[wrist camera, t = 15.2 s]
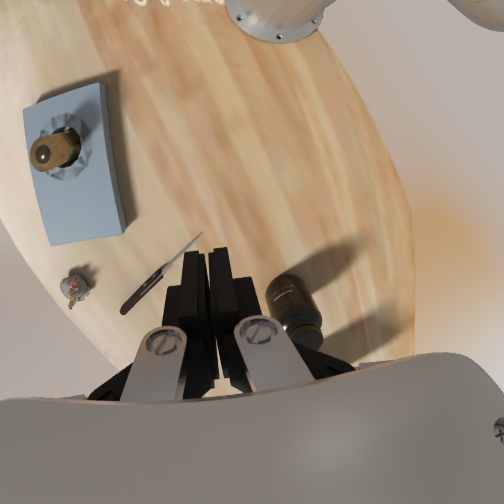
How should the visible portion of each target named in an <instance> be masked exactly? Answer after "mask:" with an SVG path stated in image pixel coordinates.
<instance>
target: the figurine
mask: <svg viewBox="0 0 504 504" xmlns="http://www.w3.org/2000/svg"><path fill="white" fill-rule="evenodd" d="M60 289H61V292H62V293H63V295H64V296H65V297H66V298H68V299H70V302H69V305H70V306H69V305H68V307H69V309H72V307H73V306H74V305H75V303H76V302H79V301H82V300H84V299H85V298H86V297H88V294H90V293H88V292H89V290H90V287H89V286H87V284H86V282H85V280H84V279H82V278H81V276H80V275H79V274H74V275H72V276H70V277H67V278H64V279H62V282H61V283H60ZM74 302H75V303H74ZM73 303H74V304H73Z"/></svg>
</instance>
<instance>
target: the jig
mask: <svg viewBox="0 0 504 504" xmlns="http://www.w3.org/2000/svg"><path fill="white" fill-rule="evenodd" d="M23 118H24V128H25V136H26V144H27V150H28V157H29V163H30V168H31V173H32V178H33V183H34V188H35V192H36V196H37V201H38V205H39V208H40V212H41V216H42V220H43V223H44V227H45V230H46V233H47V237H48V240H49V243H50V246H56V245H62V244H67V243H73V242H80V241H86V240H92V239H98V238H105V237H111V236H118V235H123V233H124V232H125V230H126V228H127V225H126V221H125V216H124V212H123V207H122V202H121V197H120V192H119V186H118V181H117V175H116V169H115V163H114V157H113V150H112V143H111V135H110V127H109V117H108V107H107V96H106V84H105V83H101V82H97V83H94V84H90V85H87V86H84V87H81V88H78V89H75V90H72V91H69V92H66V93H63V94H60V95H57V96H55V97H52V98H49V99H47V100H44V101H42V102H39V103H37V104H34V105H32V106H30V107H27V108H25V109H23ZM66 126H68V127H71V128H74V129H75V130H76V132H77V133H78V135H79V136H80V140H81V147H82V148H81V151H80V155H79V158H78V159H77V161H76V162H75V163H74V164H72V165H69V164H66V163H64V164H62V165H60V166H57V167H55V168H53V169H51V170H49V171H46V172H39V171H37V170H36V169H35V168H34V167H33V166H32V164H31V161H30V149H31V146H32V144H33V143H34V141H35V140H37V139H38V138H40V137H43V136H48V135H52V134H56V133H59V132H60V131H61V130H62V129H63V128H64V127H66Z"/></svg>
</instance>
